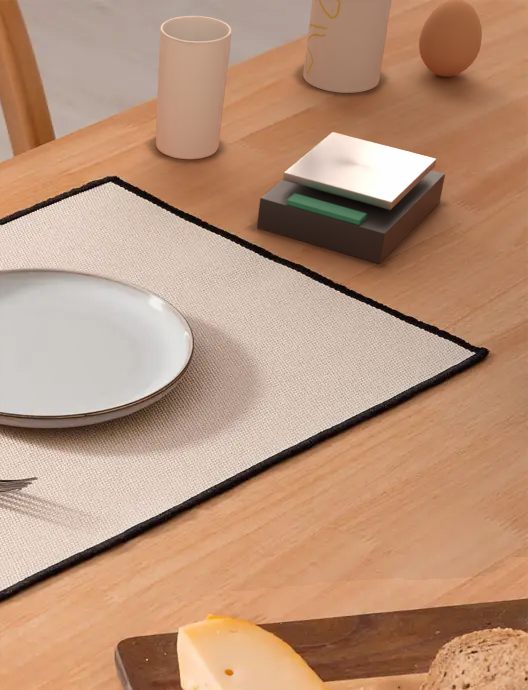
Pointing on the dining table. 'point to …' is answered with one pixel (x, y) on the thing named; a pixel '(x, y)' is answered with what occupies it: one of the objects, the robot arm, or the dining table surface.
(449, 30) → the egg
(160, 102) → the mug
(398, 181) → the scale pan
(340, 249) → the scale
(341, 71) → the white cylinder
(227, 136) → the dining table surface
